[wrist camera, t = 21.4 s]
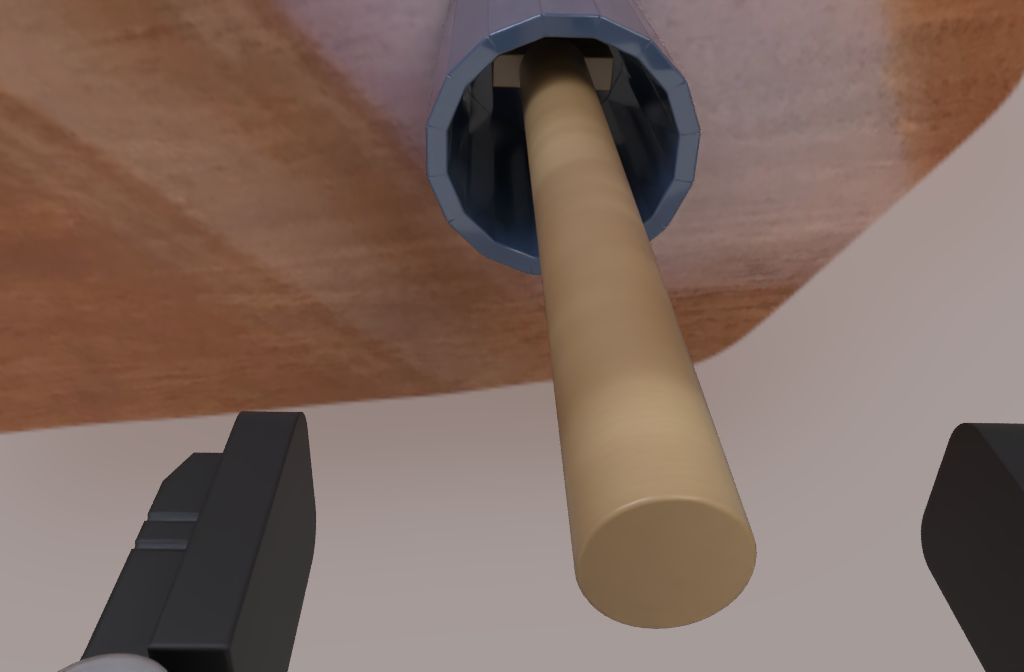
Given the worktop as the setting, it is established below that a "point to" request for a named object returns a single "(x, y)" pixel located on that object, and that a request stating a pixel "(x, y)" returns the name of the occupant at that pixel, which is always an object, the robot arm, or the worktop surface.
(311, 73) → the worktop surface
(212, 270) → the worktop surface
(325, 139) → the worktop surface
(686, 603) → the wooden stirring stick
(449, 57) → the crock
